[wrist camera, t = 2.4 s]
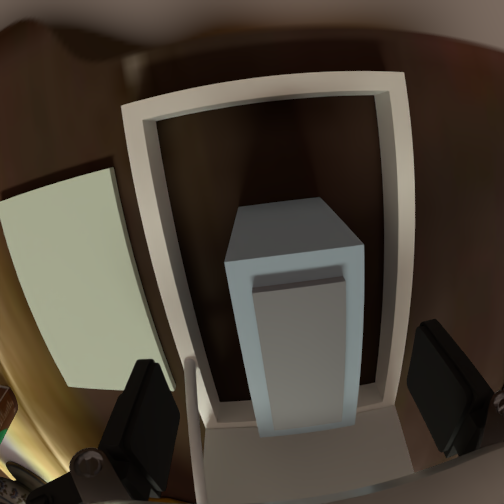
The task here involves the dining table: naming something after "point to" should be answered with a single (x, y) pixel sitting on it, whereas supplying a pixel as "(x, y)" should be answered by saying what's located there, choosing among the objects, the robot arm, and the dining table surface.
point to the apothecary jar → (18, 484)
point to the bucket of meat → (166, 500)
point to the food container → (6, 409)
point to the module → (298, 314)
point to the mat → (82, 279)
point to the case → (188, 334)
